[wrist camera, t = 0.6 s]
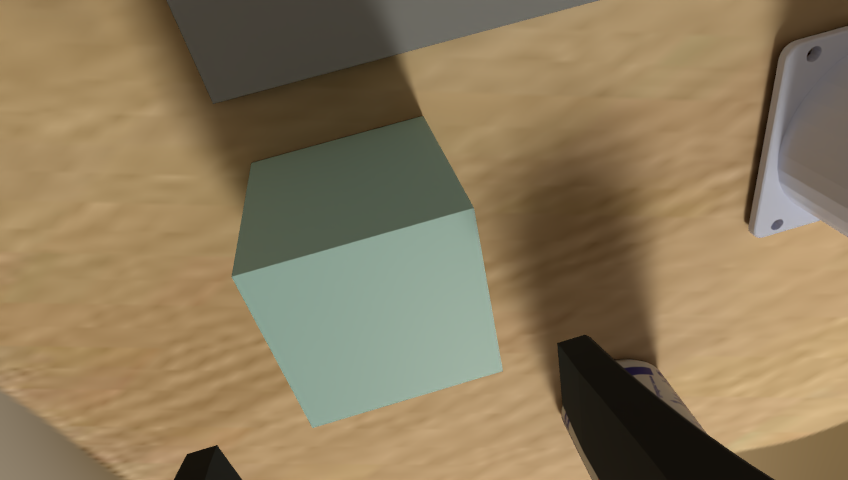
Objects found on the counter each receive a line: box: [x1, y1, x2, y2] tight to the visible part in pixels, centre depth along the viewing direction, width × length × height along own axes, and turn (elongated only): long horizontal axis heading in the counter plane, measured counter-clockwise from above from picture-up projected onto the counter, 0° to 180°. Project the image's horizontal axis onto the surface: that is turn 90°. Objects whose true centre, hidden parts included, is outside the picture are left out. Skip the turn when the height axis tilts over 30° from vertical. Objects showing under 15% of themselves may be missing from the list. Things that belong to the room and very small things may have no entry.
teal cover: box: [232, 116, 503, 428], centre depth 16 cm, size 6×6×6 cm
